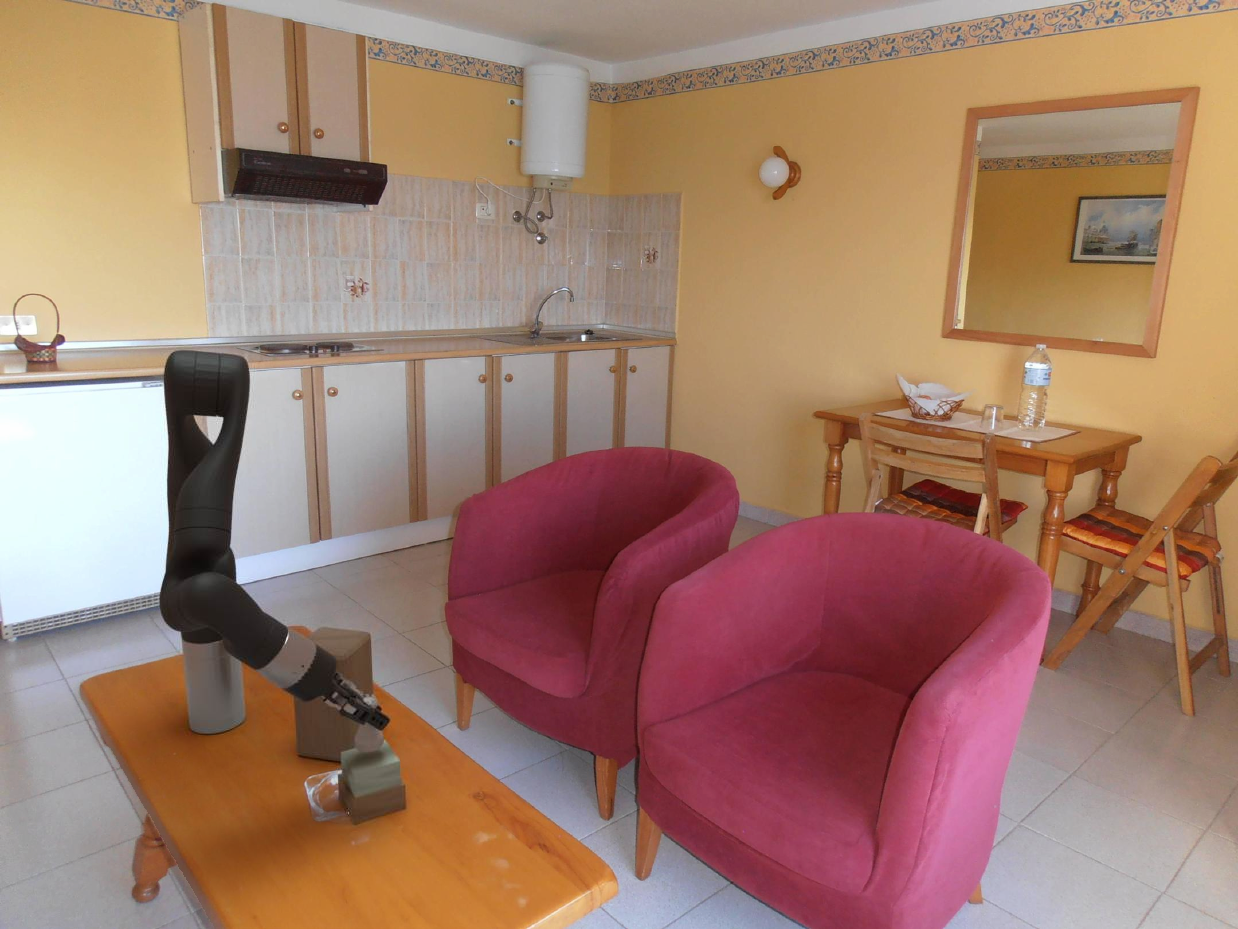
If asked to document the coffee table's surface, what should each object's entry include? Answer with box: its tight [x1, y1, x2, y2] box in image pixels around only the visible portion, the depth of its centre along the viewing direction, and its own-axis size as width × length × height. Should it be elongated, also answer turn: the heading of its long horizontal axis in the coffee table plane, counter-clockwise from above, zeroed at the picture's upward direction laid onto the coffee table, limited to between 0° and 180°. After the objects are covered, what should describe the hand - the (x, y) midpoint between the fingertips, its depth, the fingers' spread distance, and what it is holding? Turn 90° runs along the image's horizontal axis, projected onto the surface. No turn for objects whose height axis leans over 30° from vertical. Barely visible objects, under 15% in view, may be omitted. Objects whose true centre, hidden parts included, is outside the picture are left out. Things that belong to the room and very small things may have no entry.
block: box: [293, 626, 374, 763], centre depth 147 cm, size 10×10×20 cm
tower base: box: [337, 739, 407, 826], centre depth 133 cm, size 8×8×8 cm
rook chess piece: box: [354, 694, 385, 753], centre depth 131 cm, size 4×4×8 cm
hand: (381, 718), depth 132 cm, fingers closed on rook chess piece, 3 cm apart
